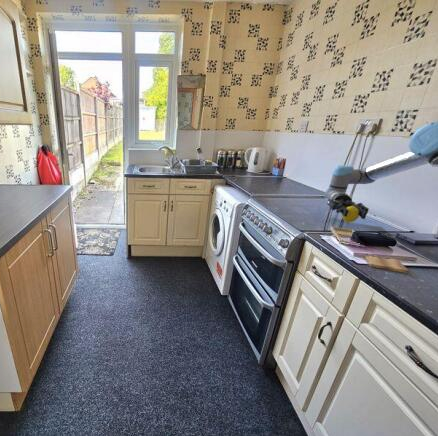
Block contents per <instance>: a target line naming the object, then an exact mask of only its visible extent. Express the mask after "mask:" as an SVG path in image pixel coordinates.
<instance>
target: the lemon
mask: <svg viewBox="0 0 438 436" xmlns="http://www.w3.org/2000/svg"><path fill="white" fill-rule="evenodd" d="M346 209H347V210H348V213H347V216H346V217H345V216H344V215H343V214H342V213H341V217H342V220H343V221H345V223H346V224H350V223H353V222H355V221H356V220H357V219H358V218H359V217H360V216H359V210H358V209H357V208H356V207H355V206H349V207H347V208H346Z"/></svg>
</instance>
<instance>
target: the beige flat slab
mask: <svg viewBox="0 0 438 436" xmlns="http://www.w3.org/2000/svg"><path fill="white" fill-rule="evenodd" d="M329 231H331V233H332V234H333V236H334V237H335V236H336V237H337V239H338V240H339V241H340V242H345V243H352V244H358V245H360V243H356V242H350V241H344V240H341V238H340V237H342V238H350V237H351V236H352V233H353V232H356V231H355V230H354V229H351V228H345V227H338V226H332V225H330V228H329ZM336 237H335V238H336ZM337 239H336V240H337Z"/></svg>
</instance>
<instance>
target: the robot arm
mask: <svg viewBox="0 0 438 436" xmlns="http://www.w3.org/2000/svg"><path fill="white" fill-rule="evenodd" d="M408 148H409V150H408V151H405V152H403V153H400V154H397V155H395V156H393V157H390V158H387V159H385V160H382V161H379V162H376V163H374V164H371V165H369V166H366V167H363V168H359V169H355V168H354V166H352V165H347V164H346V165H345V164H338V165H336V166H335V167H334V170H333V172H332V176H331V179H330V180H331V181H330V183H329V186H328V188H327V189H326V190H325V192H324V195H325V199H326V200H327V203H326V205H327V206H328V207H329V208H330V209H331V210H332V211H335V210H336V211H335V213H337V214H339V213H341V215H342V214H343V215H344V216H345V217H346V216H347V213H348V210H347V209H346V208H347V207H349V206H355V207H356V208H357V209H358V210H359V216H358V217H360V218H361V219H362V220H365V219H366V217H367V215H368V212H369V210H370V209H369V208H368V207H367V206H366V205H364V204H363V202H358V203H355V202H354V201H353V199H352V197H351V196H350V195H349V194H347V193H346V192H347V190H348V187H349V185H369V184H372V183H374V182H376V181H377V180H379V179H383V178H385V177H389V176H392V175H395V174H398V173H402V172H406V171H408V170H411V169H414V168H417V167H421V166H424V165H427V164H429V165H430V166H431V167H437V168H438V121H434V122H430V123H427V124H424V125H422V126H420V127H419V128H418V129H417V130H416V131H415V132H413V134H412V136H411V138H410V140H409V143H408Z"/></svg>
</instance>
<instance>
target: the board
mask: <svg viewBox="0 0 438 436" xmlns="http://www.w3.org/2000/svg"><path fill="white" fill-rule="evenodd" d="M365 259H366V260H365ZM364 260H365V261H366V262H367V264H368V265H369V267H372V268H378V269H383V270H388V271H394V272H398V273H399V272H400V273H403V274H409V272H410V270H409V269H408V268H407V267H406V266H405V265H404V264H402V262H401V261H400V260H399V259H396V258H391V259H385V258H378V257H372V256H365V258H364Z"/></svg>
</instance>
